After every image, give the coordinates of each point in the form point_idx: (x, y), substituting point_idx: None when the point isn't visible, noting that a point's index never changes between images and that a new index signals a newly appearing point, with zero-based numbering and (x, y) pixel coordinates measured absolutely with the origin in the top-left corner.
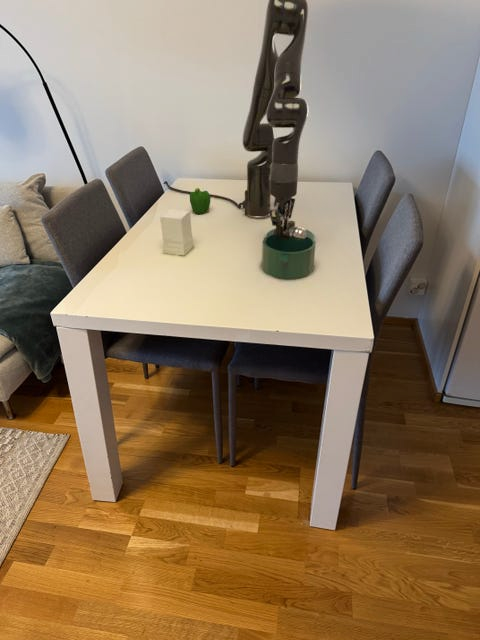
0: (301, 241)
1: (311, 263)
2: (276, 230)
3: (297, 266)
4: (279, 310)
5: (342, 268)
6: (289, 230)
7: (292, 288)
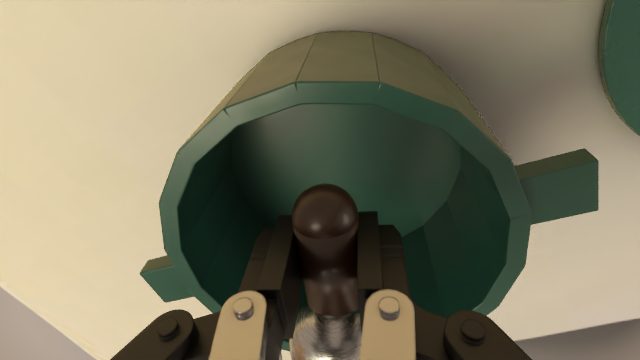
0: (482, 242)
1: None
2: (245, 273)
3: None
4: (66, 257)
5: None
6: (302, 346)
7: None
